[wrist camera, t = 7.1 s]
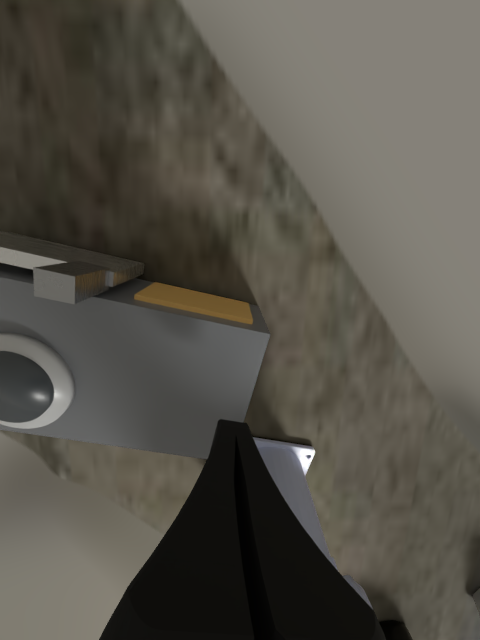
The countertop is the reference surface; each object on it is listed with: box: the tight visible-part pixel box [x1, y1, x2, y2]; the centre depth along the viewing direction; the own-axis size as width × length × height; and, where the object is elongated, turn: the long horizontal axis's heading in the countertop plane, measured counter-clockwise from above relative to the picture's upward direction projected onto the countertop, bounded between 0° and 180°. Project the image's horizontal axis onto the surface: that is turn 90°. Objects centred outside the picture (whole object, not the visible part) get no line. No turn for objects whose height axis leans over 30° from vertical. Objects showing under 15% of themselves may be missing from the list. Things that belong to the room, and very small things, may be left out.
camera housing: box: [0, 263, 270, 459], centre depth 16 cm, size 10×18×7 cm, turn 76°
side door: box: [0, 232, 144, 304], centre depth 13 cm, size 1×9×8 cm, turn 76°
